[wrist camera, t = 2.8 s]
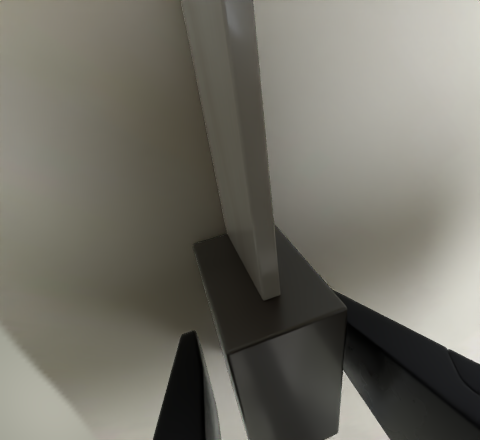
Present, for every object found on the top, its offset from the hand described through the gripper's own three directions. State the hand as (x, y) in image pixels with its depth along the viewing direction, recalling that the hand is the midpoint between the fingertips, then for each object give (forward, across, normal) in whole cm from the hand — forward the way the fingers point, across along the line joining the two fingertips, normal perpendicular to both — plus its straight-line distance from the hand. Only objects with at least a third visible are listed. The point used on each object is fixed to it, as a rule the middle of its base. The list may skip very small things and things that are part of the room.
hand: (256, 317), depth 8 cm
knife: (+1, 0, -3) cm, 3 cm away
